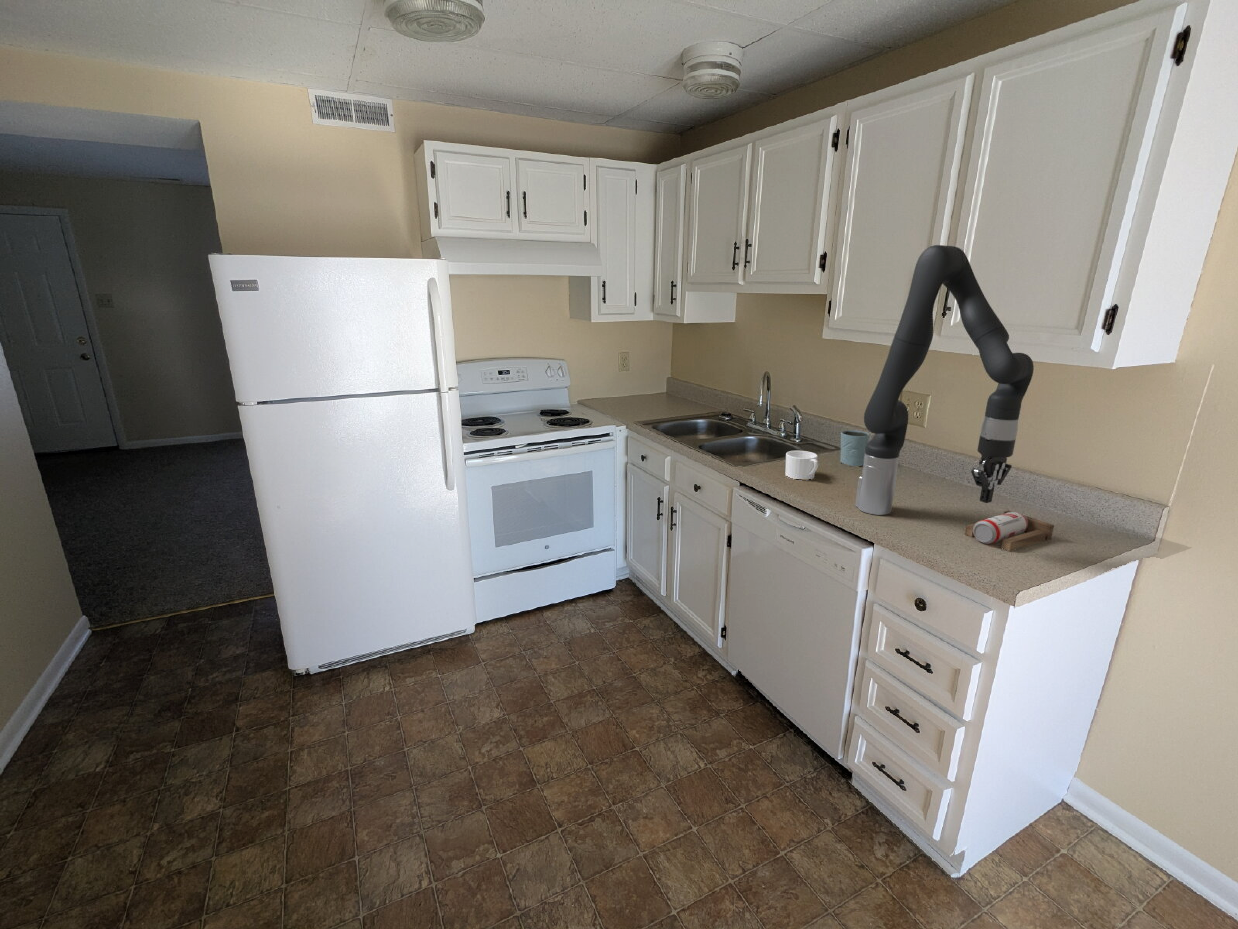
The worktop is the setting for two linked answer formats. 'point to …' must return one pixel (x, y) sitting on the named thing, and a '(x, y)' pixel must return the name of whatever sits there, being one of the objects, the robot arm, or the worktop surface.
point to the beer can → (1000, 527)
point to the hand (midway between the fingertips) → (985, 501)
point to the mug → (801, 464)
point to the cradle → (1033, 534)
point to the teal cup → (853, 447)
